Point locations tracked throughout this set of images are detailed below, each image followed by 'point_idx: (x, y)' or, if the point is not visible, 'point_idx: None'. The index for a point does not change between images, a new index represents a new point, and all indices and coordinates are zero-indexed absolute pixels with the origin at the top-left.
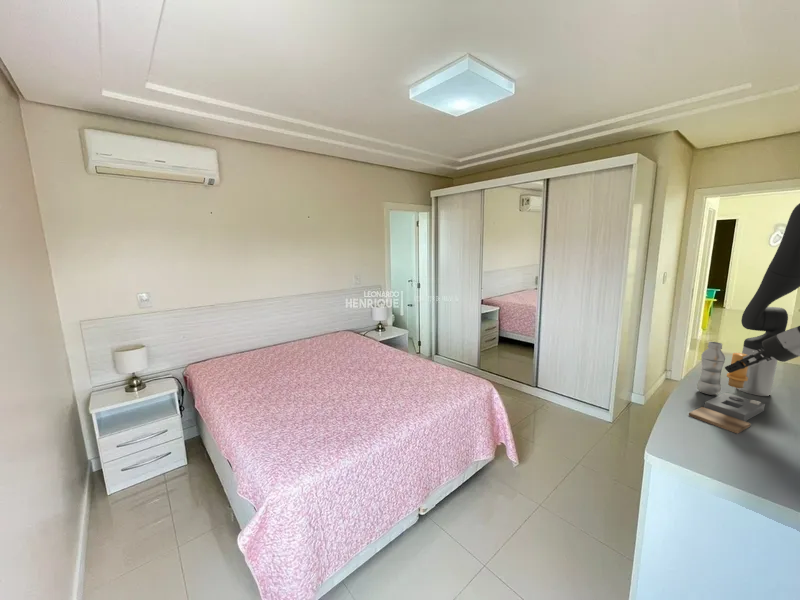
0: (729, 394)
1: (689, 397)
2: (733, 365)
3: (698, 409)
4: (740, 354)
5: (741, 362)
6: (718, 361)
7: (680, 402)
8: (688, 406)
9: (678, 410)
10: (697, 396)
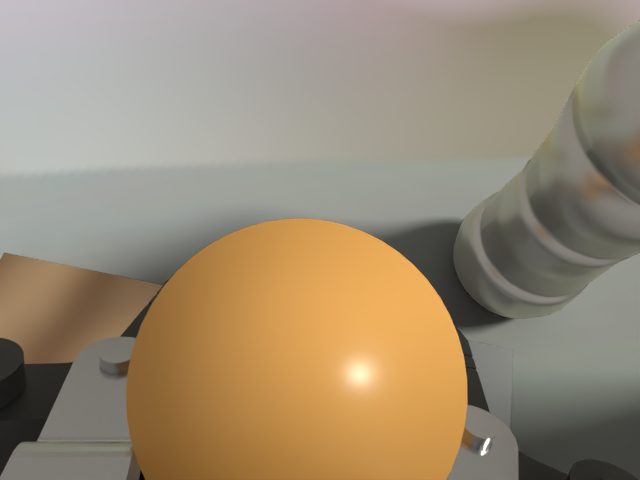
0: (489, 372)
1: (331, 212)
2: (129, 333)
3: (102, 279)
4: (305, 354)
5: (18, 433)
6: (613, 180)
7: (201, 194)
8: (168, 233)
9: (58, 209)
10: (389, 238)
